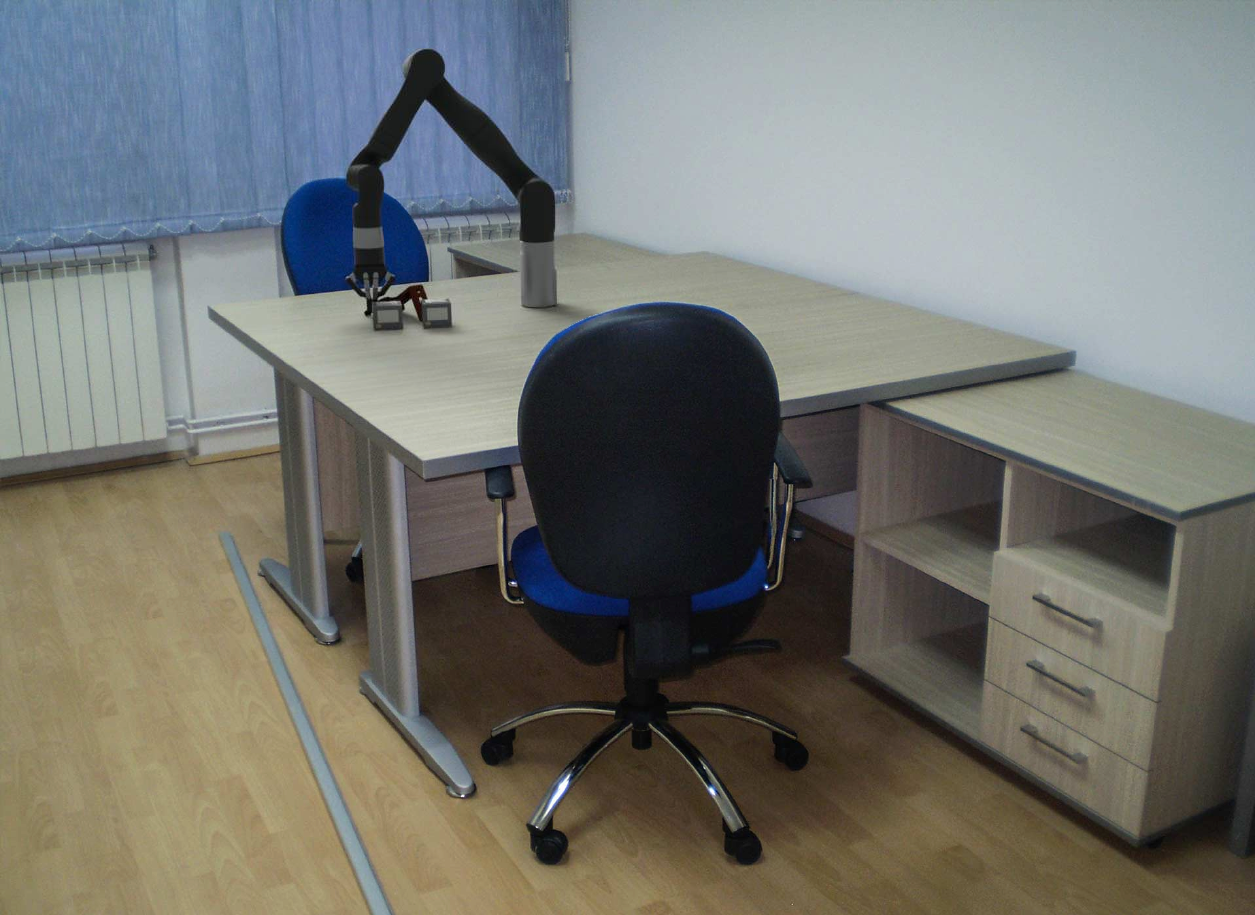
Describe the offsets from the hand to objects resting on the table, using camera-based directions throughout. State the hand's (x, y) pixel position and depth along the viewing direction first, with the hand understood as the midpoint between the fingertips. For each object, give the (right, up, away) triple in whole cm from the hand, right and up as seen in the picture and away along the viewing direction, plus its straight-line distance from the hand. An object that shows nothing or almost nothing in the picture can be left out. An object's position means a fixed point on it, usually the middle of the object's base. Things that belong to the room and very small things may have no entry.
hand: (372, 312), depth 325 cm
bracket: (+7, -2, +2) cm, 7 cm away
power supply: (+6, -5, -10) cm, 12 cm away
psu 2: (+17, -4, -7) cm, 19 cm away
